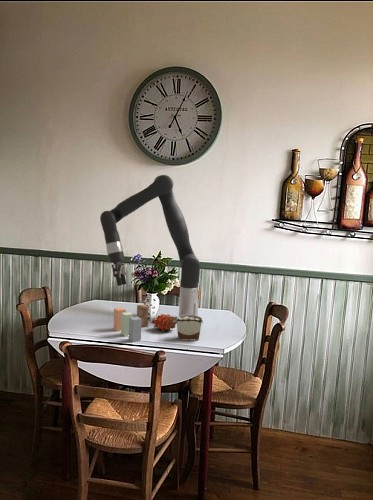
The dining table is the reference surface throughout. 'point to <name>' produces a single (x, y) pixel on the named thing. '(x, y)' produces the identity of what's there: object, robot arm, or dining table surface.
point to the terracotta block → (118, 317)
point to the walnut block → (143, 315)
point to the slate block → (134, 329)
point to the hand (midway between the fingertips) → (122, 285)
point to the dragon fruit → (164, 322)
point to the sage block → (125, 323)
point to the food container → (188, 326)
